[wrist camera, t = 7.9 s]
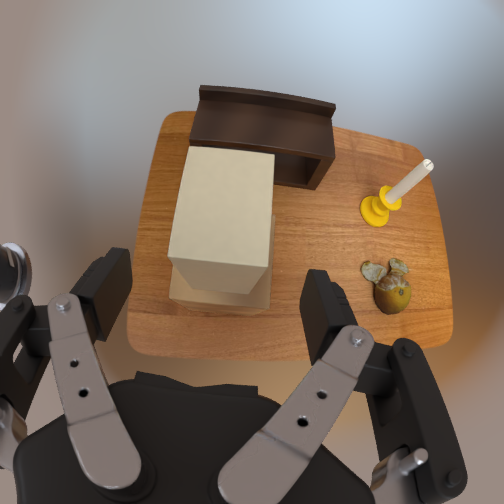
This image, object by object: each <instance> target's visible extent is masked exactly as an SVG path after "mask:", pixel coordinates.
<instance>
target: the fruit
mask: <svg viewBox="0 0 504 504" xmlns="http://www.w3.org/2000/svg"><path fill="white" fill-rule="evenodd" d="M390 265H391V267H392V270H391V271H390V273H389V274H387V273H386V269H385V268H384V267H383V266H381V265H379V264H373V263H371V262H370V261H368V262H365V263H364V265H363V266H362V269H361V271H362V274H363V275H364V277H365V278H366V279H367V280H370V281H373V282H374V283H375V284H376V288H375V294H374V298H375V302H376V305H377V306H378V308H379V309H380V310H381V311H382V312H383V313H385V314H387V315H390V314H397V313H399V312H400V311H402V310H404V308H406V307H407V305H408V303H409V300H410V298H411V286H410V285H409V283H408V282H407V281H406V280H405V279H404V278H403V277H402V276H403V275H404V274H405V273H408V272H409V270H408V267H407V266H406V264H404V263H403V262H402V261H400V260H398V259H394V258H392V259H391V260H390Z"/></svg>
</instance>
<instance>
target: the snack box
mask: <svg viewBox="0 0 504 504" xmlns="http://www.w3.org/2000/svg"><path fill="white" fill-rule="evenodd" d="M274 160H275V155H273V154H266V153H258V152H250V151H241V150H231V149H221V148H209V147H195V146H189V150H188V154H187V158H186V162H185V167H184V171H183V176H182V180H181V185H180V190H179V194H178V199H177V204H176V210H175V215H174V220H173V226H172V231H171V237H170V243H169V249H168V258H169V259H170V261H171V262H172V263H173V265H174V266H175V267H176V269H177V270H178V271H179V273H180V274H181V275H182V276H183V278H184V279H185V280H186V282H187V283H188V284H189V286H190V287H191V288H192V289H200V290H209V291H219V292H229V293H239V294H249V293H250V291H251V290H252V289H253V287H254V286H255V284H256V283H257V282H258V280H259V279H260V278H261V276H262V275H263V273H264V272H265V271H266V269H267V268H268V263H269V248H270V232H271V215H272V198H273V179H274Z"/></svg>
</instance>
